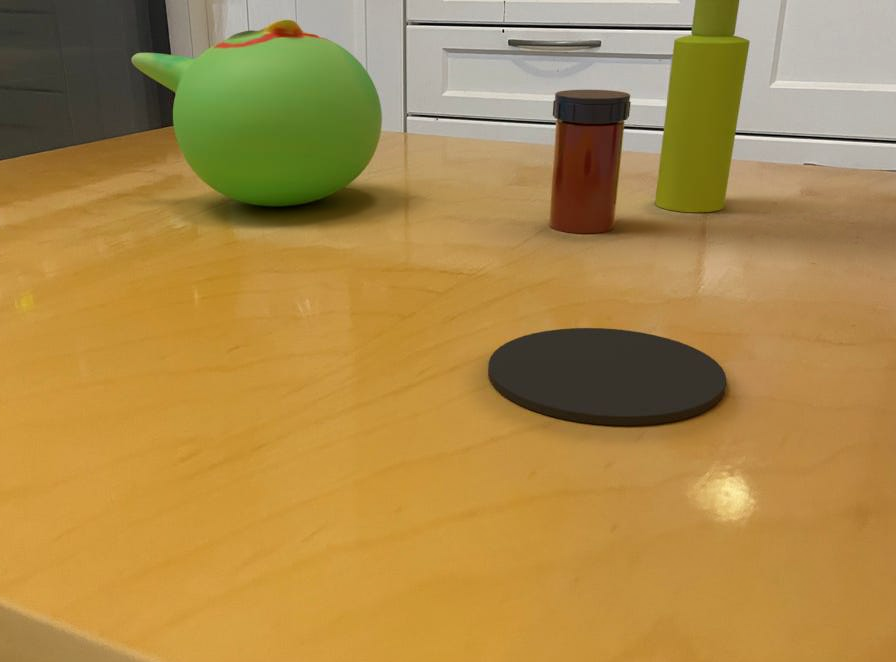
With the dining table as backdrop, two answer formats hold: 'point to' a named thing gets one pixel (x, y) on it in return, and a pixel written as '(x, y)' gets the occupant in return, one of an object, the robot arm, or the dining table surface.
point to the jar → (585, 176)
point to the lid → (591, 106)
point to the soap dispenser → (702, 110)
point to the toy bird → (272, 114)
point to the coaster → (607, 376)
